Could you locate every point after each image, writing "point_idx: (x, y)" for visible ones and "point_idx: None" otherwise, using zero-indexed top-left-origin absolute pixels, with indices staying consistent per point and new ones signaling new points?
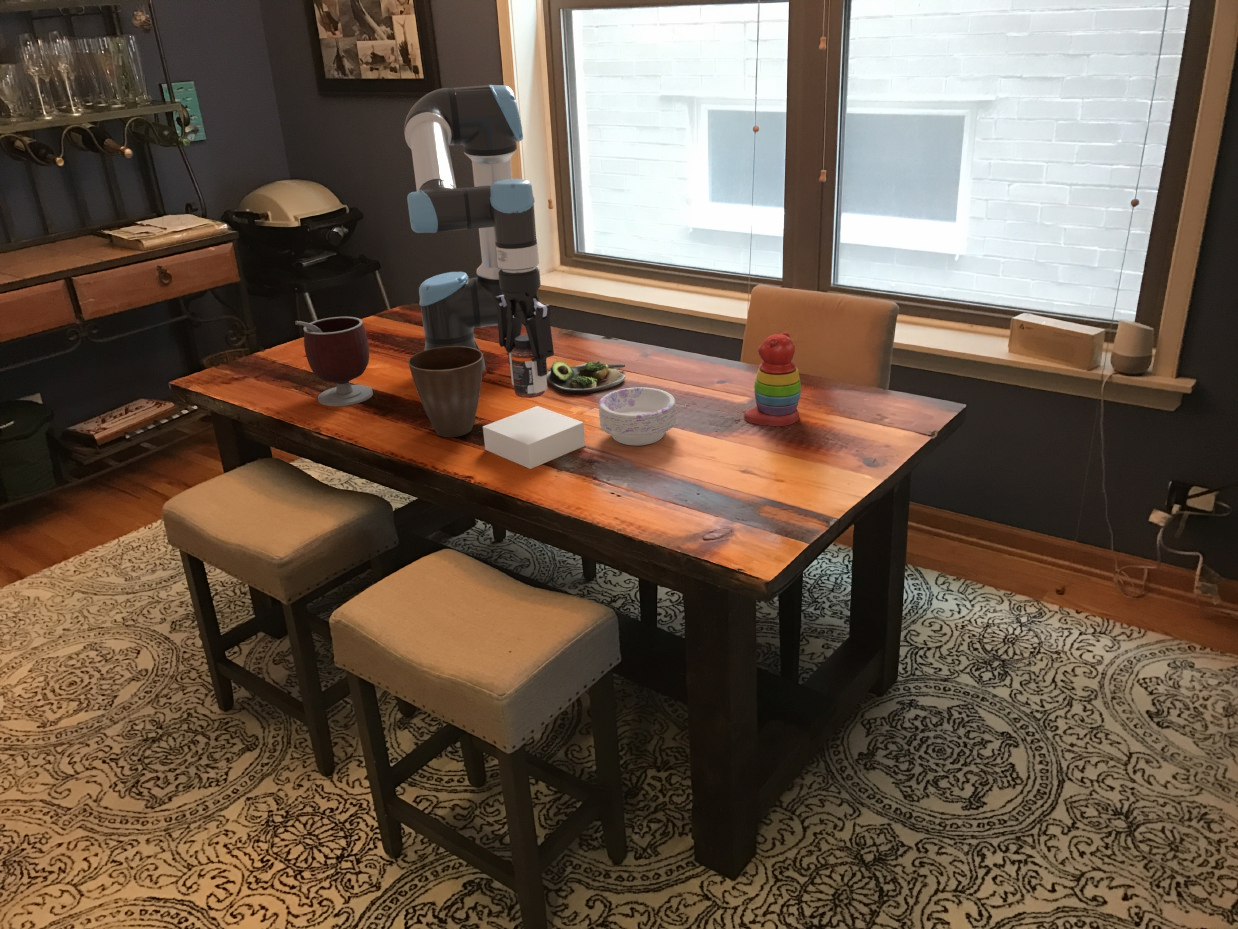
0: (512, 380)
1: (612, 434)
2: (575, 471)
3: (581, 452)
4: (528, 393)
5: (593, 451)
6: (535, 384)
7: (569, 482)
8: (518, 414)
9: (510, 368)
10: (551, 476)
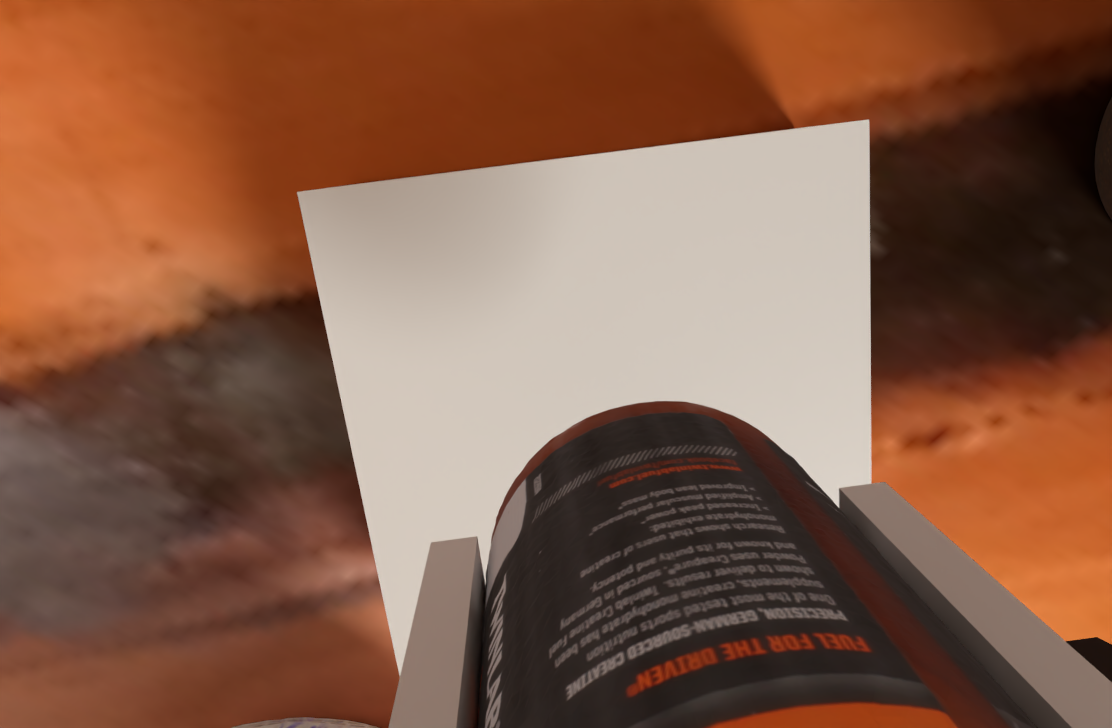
0: (898, 512)
1: (256, 725)
2: (149, 365)
3: (359, 525)
4: (519, 483)
5: (328, 577)
6: (423, 605)
7: (29, 257)
8: (847, 446)
9: (1017, 602)
10: (170, 223)
